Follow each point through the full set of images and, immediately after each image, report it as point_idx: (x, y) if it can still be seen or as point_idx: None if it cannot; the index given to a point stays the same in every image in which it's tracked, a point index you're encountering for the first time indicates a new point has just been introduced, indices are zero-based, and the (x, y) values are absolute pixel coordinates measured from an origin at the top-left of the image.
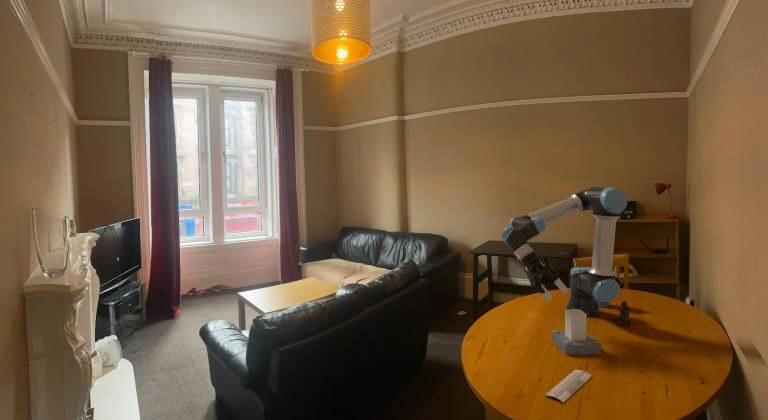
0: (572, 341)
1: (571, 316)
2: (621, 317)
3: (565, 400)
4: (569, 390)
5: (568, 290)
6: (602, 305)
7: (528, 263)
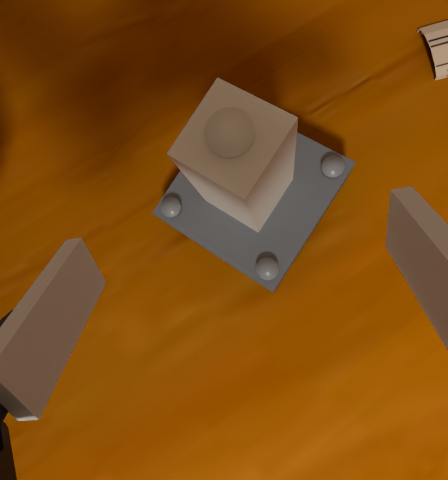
0: (296, 170)
1: (296, 125)
2: None
3: None
4: None
5: (70, 241)
6: None
7: None
